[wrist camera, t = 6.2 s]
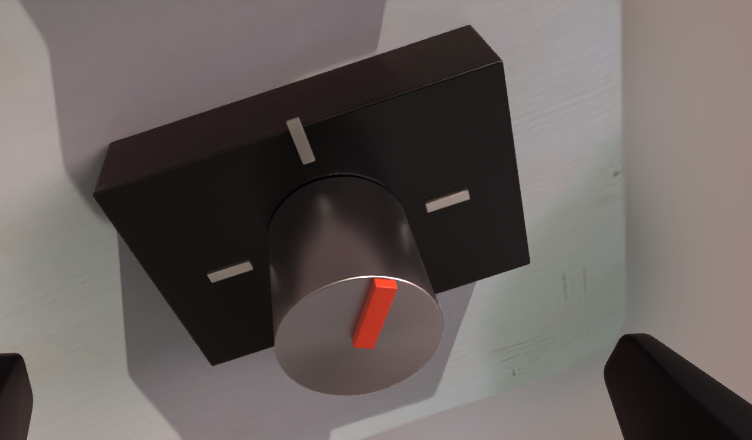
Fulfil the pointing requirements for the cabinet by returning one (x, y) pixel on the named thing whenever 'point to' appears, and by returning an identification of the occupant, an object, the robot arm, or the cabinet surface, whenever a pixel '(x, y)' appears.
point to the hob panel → (317, 162)
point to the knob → (349, 289)
